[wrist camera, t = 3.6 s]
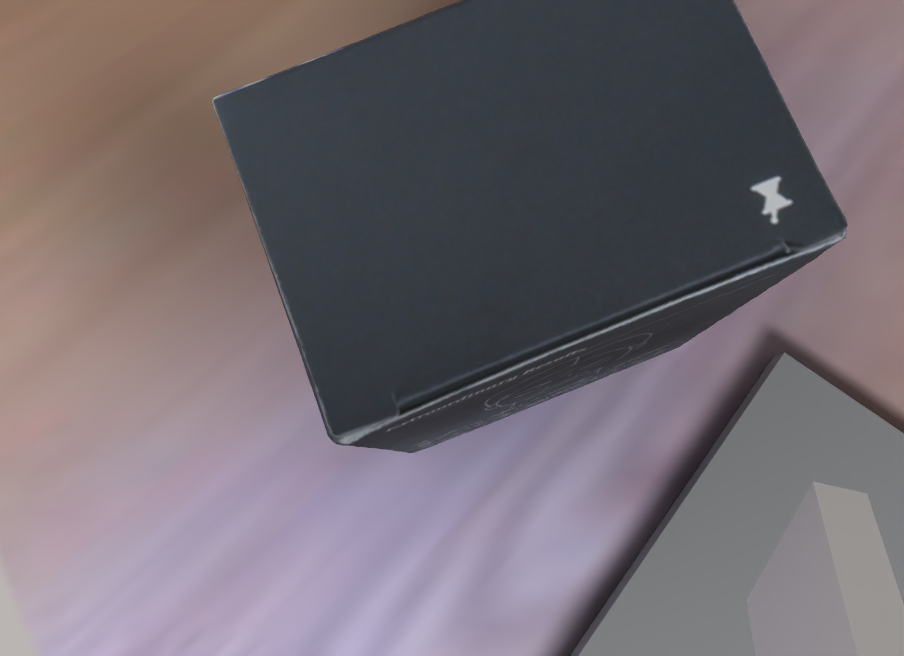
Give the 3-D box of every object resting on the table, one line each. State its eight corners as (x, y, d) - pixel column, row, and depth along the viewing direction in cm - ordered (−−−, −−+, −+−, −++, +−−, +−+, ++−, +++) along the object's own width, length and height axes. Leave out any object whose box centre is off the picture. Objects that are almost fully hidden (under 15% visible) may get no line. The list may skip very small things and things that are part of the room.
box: (596, 158, 23) (696, -104, 12) (681, 348, 22) (869, 243, 11) (328, 262, 22) (195, 87, 12) (402, 459, 21) (329, 457, 11)
